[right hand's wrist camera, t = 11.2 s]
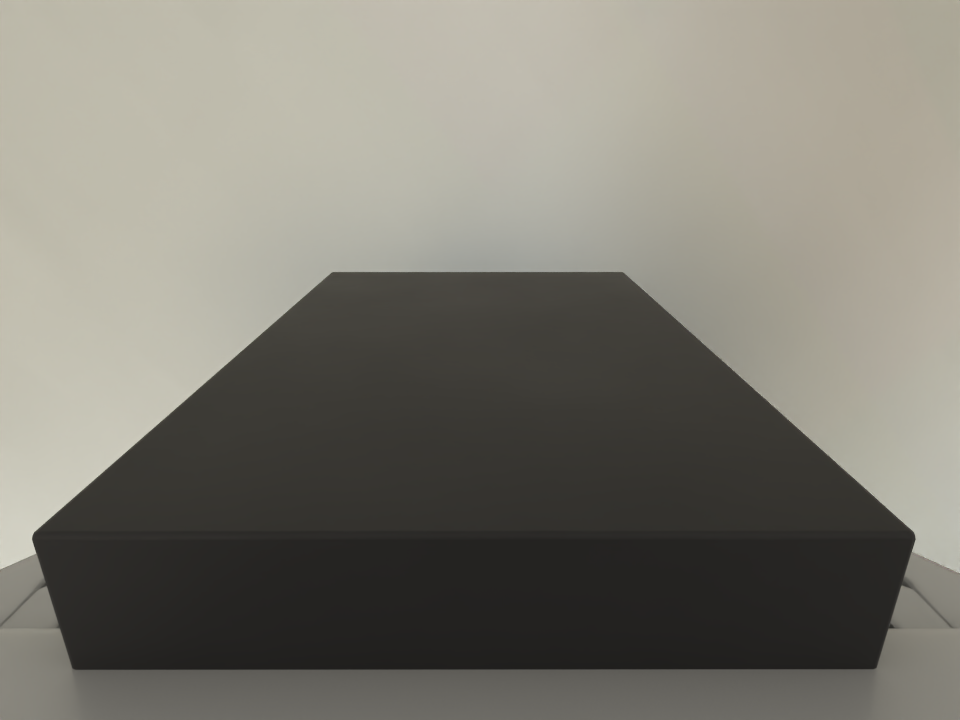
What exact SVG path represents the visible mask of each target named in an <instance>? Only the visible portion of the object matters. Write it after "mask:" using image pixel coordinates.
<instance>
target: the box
mask: <svg viewBox="0 0 960 720" xmlns="http://www.w3.org/2000/svg"><path fill="white" fill-rule="evenodd" d="M32 541H33V544H34V547H35V550H36V553H37V557H38V560H39V563H40V566H41V569H42V573H43V576H44V579H45V582H46V586H47V589H48V592H49V595H50V598H51V602H52V605H53V608H54V611H55V614H56V618H57V621H58V624H59V627H60V631H61V634H62V637H63V640H64V643H65V647H66V650H67V653H68V656H69V659H70V663H71V666H72V669H75V670H596V669H875V668H877V665H878V661H879V658H880V655H881V652H882V648H883V645H884V642H885V638H886V635H887V632H888V628H889V625H890V622H891V619H892V615H893V612H894V609H895V605H896V602H897V599H898V595H899V592H900V589H901V586H902V582H903V579H904V576H905V572H906V569H907V566H908V562H909V559H910V556H911V552H912V549H913V546H914V543H915V534H914V532H913V531H912V530H911V529H909V528H908V527H907V526H906V525H905V524H904V523H903V522H902V521H901V520H899V519H898V518H897V517H896V516H895V515H894V514H893V513H892V512H890V511H889V510H888V509H887V508H886V507H885V506H884V505H883V504H882V503H880V502H879V501H878V500H877V499H876V498H875V497H874V496H873V495H871V494H870V493H869V492H868V491H867V490H866V489H865V488H864V487H863V486H861V485H860V484H859V483H858V482H857V481H856V480H855V479H854V478H852V477H851V476H850V475H849V474H848V473H847V472H846V471H845V470H844V469H842V468H841V467H840V466H839V465H838V464H837V463H836V462H835V461H833V460H832V459H831V458H830V457H829V456H828V455H827V454H826V453H825V452H823V451H822V450H821V449H820V448H819V447H818V446H817V445H816V444H814V443H813V442H812V441H811V440H810V439H809V438H808V437H807V436H806V435H804V434H803V433H802V432H801V431H800V430H799V429H798V428H797V427H795V426H794V425H793V424H792V423H791V422H790V421H789V420H788V419H787V418H785V417H784V416H783V415H782V414H781V413H780V412H779V411H778V410H776V409H775V408H774V407H773V406H772V405H771V404H770V403H769V402H768V401H766V400H765V399H764V398H763V397H762V396H761V395H760V394H759V393H757V392H756V391H755V390H754V389H753V388H752V387H751V386H750V385H749V384H747V383H746V382H745V381H744V380H743V379H742V378H741V377H740V376H738V375H737V374H736V373H735V372H734V371H733V370H732V369H731V368H730V367H728V366H727V365H726V364H725V363H724V362H723V361H722V360H721V359H719V358H718V357H717V356H716V355H715V354H714V353H713V352H712V351H711V350H709V349H708V348H707V347H706V346H705V345H704V344H703V343H702V342H700V341H699V340H698V339H697V338H696V337H695V336H694V335H693V334H692V333H690V332H689V331H688V330H687V329H686V328H685V327H684V326H683V325H681V324H680V323H679V322H678V321H677V320H676V319H675V318H674V317H673V316H671V315H670V314H669V313H668V312H667V311H666V310H665V309H664V308H662V307H661V306H660V305H659V304H658V303H657V302H656V301H655V300H654V299H652V298H651V297H650V296H649V295H648V294H647V293H646V292H645V291H643V290H642V289H641V288H640V287H639V286H638V285H637V284H636V283H635V282H633V281H632V280H631V279H630V278H629V277H628V276H627V275H626V274H624V273H623V272H333V273H331V274H330V275H329V276H327V277H326V278H325V279H324V280H323V281H322V282H321V283H319V284H318V285H317V286H316V287H315V288H314V289H313V290H311V291H310V292H309V293H308V294H307V295H306V296H305V297H303V298H302V299H301V300H300V301H299V302H298V303H297V304H295V305H294V306H293V307H292V308H291V309H290V310H289V311H287V312H286V313H285V314H284V315H283V316H282V317H280V318H279V319H278V320H277V321H276V322H275V323H274V324H272V325H271V326H270V327H269V328H268V329H267V330H266V331H264V332H263V333H262V334H261V335H260V336H259V337H258V338H256V339H255V340H254V341H253V342H252V343H251V344H250V345H248V346H247V347H246V348H245V349H244V350H243V351H242V352H240V353H239V354H238V355H237V356H236V357H235V358H234V359H232V360H231V361H230V362H229V363H228V364H227V365H226V366H224V367H223V368H222V369H221V370H220V371H219V372H218V373H216V374H215V375H214V376H213V377H212V378H211V379H209V380H208V381H207V382H206V383H205V384H204V385H203V386H201V387H200V388H199V389H198V390H197V391H196V392H195V393H193V394H192V395H191V396H190V397H189V398H188V399H187V400H185V401H184V402H183V403H182V404H181V405H180V406H179V407H177V408H176V409H175V410H174V411H173V412H172V413H171V414H169V415H168V416H167V417H166V418H165V419H164V420H163V421H161V422H160V423H159V424H158V425H157V426H156V427H155V428H153V429H152V430H151V431H150V432H149V433H148V434H146V435H145V436H144V437H143V438H142V439H141V440H140V441H138V442H137V443H136V444H135V445H134V446H133V447H132V448H130V449H129V450H128V451H127V452H126V453H125V454H124V455H122V456H121V457H120V458H119V459H118V460H117V461H116V462H114V463H113V464H112V465H111V466H110V467H109V468H108V469H106V470H105V471H104V472H103V473H102V474H101V475H100V476H98V477H97V478H96V479H95V480H94V481H93V482H92V483H90V484H89V485H88V486H87V487H86V488H85V489H84V490H82V491H81V492H80V493H79V494H78V495H77V496H75V497H74V498H73V499H72V500H71V501H70V502H69V503H67V504H66V505H65V506H64V507H63V508H62V509H61V510H59V511H58V512H57V513H56V514H55V515H54V516H53V517H51V518H50V519H49V520H48V521H47V522H46V523H45V524H43V525H42V526H41V527H40V528H39V529H38V530H37V531H35V532H34V534H33V538H32Z"/></svg>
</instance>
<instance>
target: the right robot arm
mask: <svg viewBox="0 0 960 720" xmlns="http://www.w3.org/2000/svg"><path fill="white" fill-rule="evenodd" d="M0 720H960V574H959V573H957V572H955V571H953V570H951V569H948V568H946V567H944V566H942V565H939V564H937V563H935V562H933V561H931V560H928V559H926V558H924V557H922V556H920V555H917V554H915V553H913V552H911V556H910V559H909V562H908V566H907V569H906V572H905V576H904V579H903V582H902V586H901V589H900V592H899V595H898V599H897V602H896V605H895V609H894V612H893V615H892V619H891V622H890V625H889V628H888V632H887V635H886V638H885V642H884V645H883V648H882V652H881V655H880V658H879V661H878V665H877V668H875V669H596V670H75V669H72V666H71V663H70V659H69V656H68V653H67V650H66V647H65V643H64V640H63V637H62V634H61V631H60V627H59V624H58V621H57V618H56V614H55V611H54V608H53V605H52V602H51V598H50V595H49V592H48V589H47V586H46V582H45V579H44V576H43V573H42V569H41V566H40V563H39V560H38V557H37V554H35V555H32V556H30V557H28V558H26V559H23V560H21V561H19V562H17V563H14V564H12V565H10V566H8V567H5V568H3V569H1V570H0Z"/></svg>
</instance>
